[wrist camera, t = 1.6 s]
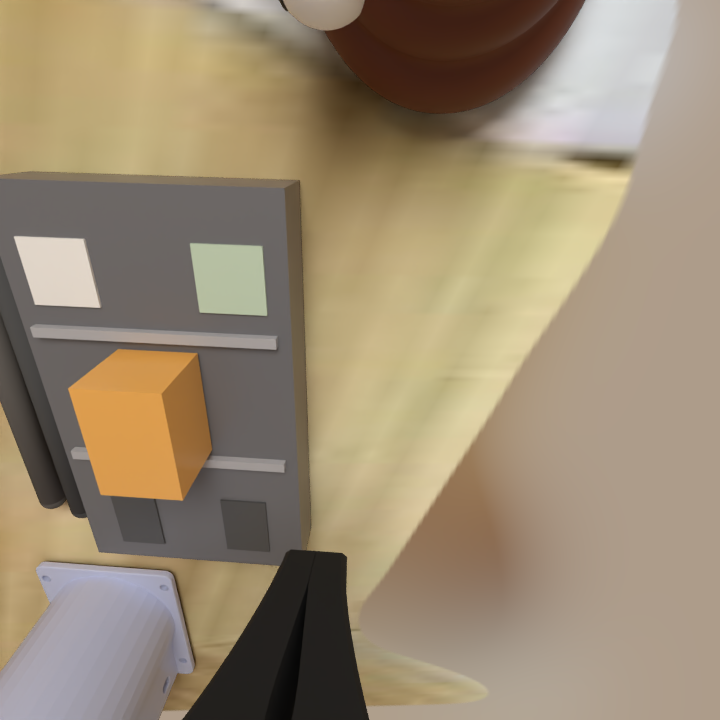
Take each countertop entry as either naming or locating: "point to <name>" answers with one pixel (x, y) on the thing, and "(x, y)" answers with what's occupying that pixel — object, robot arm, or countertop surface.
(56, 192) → the grey block
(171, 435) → the block
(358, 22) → the poop emoji
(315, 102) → the countertop surface
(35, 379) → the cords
